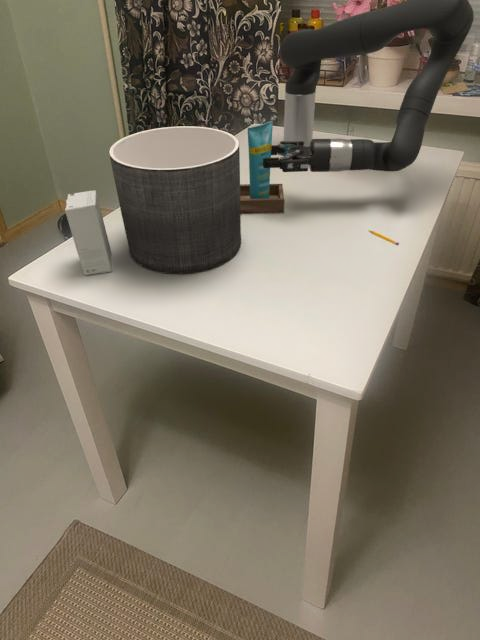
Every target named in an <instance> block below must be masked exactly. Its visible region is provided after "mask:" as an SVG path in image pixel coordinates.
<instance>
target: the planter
mask: <svg viewBox="0 0 480 640" xmlns="http://www.w3.org/2000/svg"><path fill="white" fill-rule="evenodd" d="M108 153H109V158H110V164H111V169H112V174H113V178H114V184H115V189H116V195H117V197H118V203H119V204H118V205H119V207H120V208H119V209H120V214H121V217H122V222H123V227H124V232H125V236H126V241H127V246H128V247H127V248H128V252H129V255H130V257H131V258H132V260H133V262H135V263H136V264H137V265H139V266H141V267H142V268H145V269H147V270H150V271H155V272H158V273H162V274H163V273H164V274H176V275H177V274H180V275H181V274H192V273H193V274H194V273H198V272H204V271H206V270H210V269H213V268H214V269H215V268H216V267H219V266H221V265H223V264H225V263H226V262H228V261H230V260H231V259H232V258H234V256H236V254H237V253H238V252H239V250H240V249H241V246H242V233H241V232H242V229H241V221H242V220H241V218H242V217H241V215H242V214H241V210H240V184H241V168H240V167H241V162H240V161H241V159H240V155H241V153H240V141H239V140H238V138H237V137H236V136H234V135H233V134H232V133H229V132H227V131H224V130H221V129H217V128H213V127H212V128H211V127H205V126H195V125H194V126H193V125H191V126H189V125H188V126H187V125H185V126H184V125H183V126H181V125H180V126H167V127H160V128H159V127H157V128H152V129H147V130H142V131H138V132H136V133H132V134H130V135H129V134H128V135H127V136H125V137H123V138H120V139H118V140H117V141H116V142H114V143H113V144H112V145H111V146H110V148H109V150H108Z"/></svg>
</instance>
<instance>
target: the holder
mask: <svg viewBox="0 0 480 640" xmlns="http://www.w3.org/2000/svg"><path fill="white" fill-rule="evenodd" d="M284 193H285V192H284V187H283V183H270V189H269V198H266V199H250V183H249V184H247V183H245V184H242V183H240V210H241V215H242V214H243V215H245V214H246V215H247V214H250V215H254V214H258V215H259V214H284V213H285V195H284Z"/></svg>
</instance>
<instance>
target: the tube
mask: <svg viewBox="0 0 480 640" xmlns="http://www.w3.org/2000/svg"><path fill="white" fill-rule="evenodd" d="M273 124H274V121H273V120H271V121H268V122H265V123H263V124H259V125H256V126H251V127H247V145H248V146H247V147H248V162H249V163H248V164H249V165H248V167H249V169H248V170H249V184H250V199H266V198H269V189H270V184H271V168H264V167H263V158H272V155H271V146H272V142H273V126H274V125H273Z"/></svg>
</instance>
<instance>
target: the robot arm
mask: <svg viewBox="0 0 480 640" xmlns="http://www.w3.org/2000/svg"><path fill="white" fill-rule="evenodd" d="M474 13H475V12H474V9H473V7H472V5H471V3H470V2H469V0H405V1H402V2H399V3H395V4H392V5H387V6H385V7H382V8H379V9H374V10H369V11H365V12H361V13H359V14H358V13H357V14H355V15H353V16H349V17H346V18H343V19H341V20H338V21H335V22H334V23H330V24H328V25H326V26H323V27H320V28H317V29H313V28H305V29H300V30H294V31H293V32H291V33H288V34H287V35H286V36H285V37H284V38H283V40H282V41H281V44H280V47H279V56H280V59H281V60H282V62H283V63H284V64H285V65H286V66H288V67H290V68H292V69H293V72H292V74H291V75H290V76H289V78H288V79H287V80H286V82H285V87H284V88H285V89H284V91H285V92H284V118H283V119H284V120H283V123H284V124H283V140H282V141H280V142H279V143H278V144H277V145H274V144H273V145H272V146H271V156H281V157H271V158H263V167H264V168H270V169H279V170H282V171H281V172H282V173H297V172H298V173H299V172H309V171H310V173H311V172H312V173H326V172H327V173H328V172H330V173H331V172H334V173H335V172H344V171H365V170H370V171H371V170H372V171H376V172H377V171H379V172H397V171H398V172H399V171H402V170H403V169H405V168H407V167H409V166H412V164H413V163H415V161H416V159H417V158H418V156H419V154H420V151H421V148H422V144H423V140H424V136H425V130H426V129H425V128H426V125H427V123H428V122H429V118H430V115H431V112H432V110H433V107H434V104H435V102H436V99H437V96H438V93H439V91H440V88H441V86H442V85H443V82H444V80H445V79H446V75H447V74H448V72H449V70H450V68H451V66H452V64H453V62H454V61H455V59H456V57H457V55H458V53H459V51H460V50H461V48H462V46H463V44H464V42H465V40H466V38H467V36H468V34H469V32H470V31H471V27H472V26H473V22H474V18H475V16H474V15H475V14H474ZM417 30H427V31H428V32H429V34H430V35H431V36H432V38H433V40H432V45H431V49H430V53H429V57H428V59H427V61H426V62H425V65H424V66H423V67H422V69H421V70H420V71H419V72H418V74H417V75H416V76H415V77H414V78H413V80H412V81H411V83H410V84H409V85H408V87H407V89H406V91H405V93H404V96H403V99H402V102H401V103H400V107H399V109H398V113H397V117H396V128H395V131H394V133H393V137H392V139H391V141H388V142H381V141H380V142H376V141H375V142H374V141H373V140H372V139H369V138H358V139H357V138H353V139H352V138H351V139H346V138H313V136H314V135H313V134H314V122H315V120H314V119H315V105H316V91H317V85H318V83H319V81H320V76H321V75H320V74H321V68H322V66H321V65H322V60H328V59H343V58H348V57H349V58H350V57H356V56H357V57H358V56H363V55H367V54H372V53H376V52H378V51H381V50H382V49H384V48H385V47H387V46H388V45H389V44H390V43H391V42H392V41H393V40H394V39H395V38H397V37H398V36H400V35H402V34H405V33H408V32H412V31H417Z"/></svg>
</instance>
